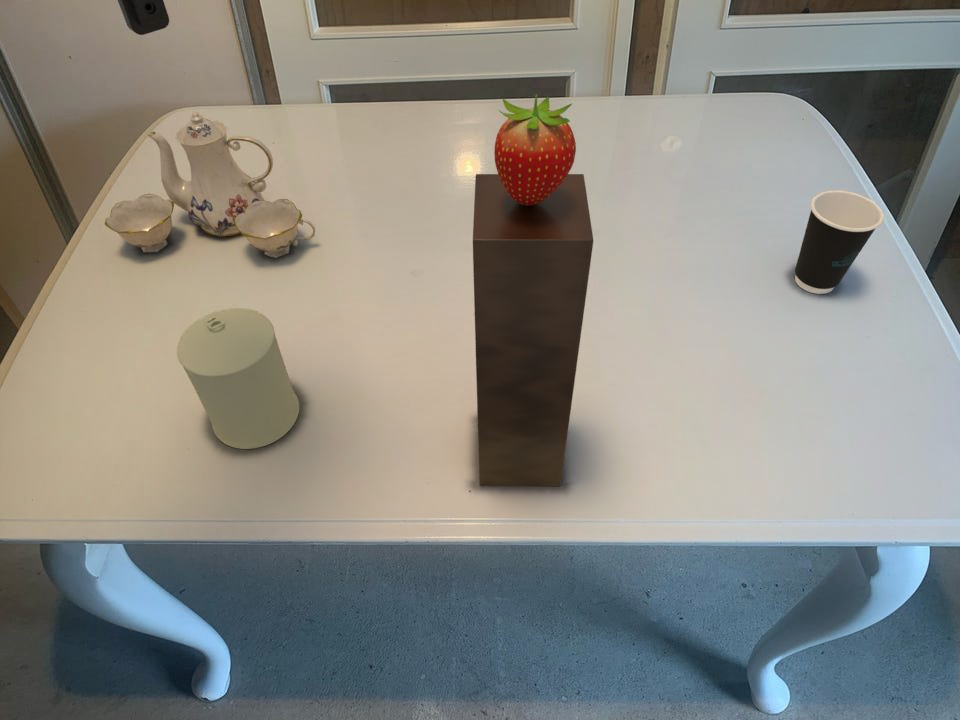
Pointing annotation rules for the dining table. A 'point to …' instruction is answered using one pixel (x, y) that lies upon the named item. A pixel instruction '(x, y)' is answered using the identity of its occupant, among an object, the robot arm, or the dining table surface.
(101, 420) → the dining table surface
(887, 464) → the dining table surface
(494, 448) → the plinth
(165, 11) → the robot arm
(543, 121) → the fruit
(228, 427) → the can
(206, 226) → the chinaware
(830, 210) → the dixie cup
